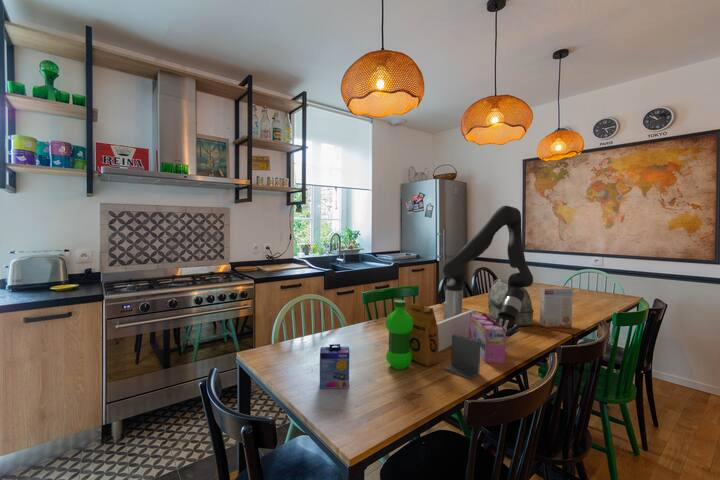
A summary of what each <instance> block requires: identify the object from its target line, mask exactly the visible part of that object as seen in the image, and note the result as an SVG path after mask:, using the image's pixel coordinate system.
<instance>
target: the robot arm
mask: <svg viewBox="0 0 720 480" xmlns="http://www.w3.org/2000/svg"><path fill="white" fill-rule="evenodd" d="M504 226H506V227H507V230H508V235H509V236H508V244H507V257H508V263H509V266H510V267H511V268H512V269H517V270H518V272H516V273H512V274H510V275H509V276H508V280H507V281H508V292H507V294H506V297H505V299H504V301H503V303H502V306H501V309H500V311H499V314H498V317H497V318H496V320H495V319H493V320H494V321H495V322H497V323H498V324H499V325H501V326H502V327H504V328H505V329H506V338H510V337H512V336H514V335H516V334H517V333H518V332H520V331H521V329H520V326H517V325H516V321H517V318H518V315H519V312H520V309H521V304H522V301H523V298H524V292H523V290H521V289H520V288H522V287H523V288H529V287H531V286H533V284H534V276H533V274H532V272H531V270H530V268H529V266H528V263H527V261H526V256H525V251H524V245H523V236H522V234H523V232H522V230H523V229H522V214H521V211H520V210H519V209H518V208H517V207H514V206H510V205H501V206H500V207H499V208H497V209H496V210H495V212H494V213H493V214H491V217H490V218H489V219H488V221H487V222H486V223H485V224H484V225H483V227H481V228H480V229H479V230H478V232H477V233H475V234H474V235H473V236H472V237H471V238H470V240H469V241H468V242H467V243H466V244H465V245H464V246H463V247H462V248H461V249H460V251H458V253H456V255H454V256H453V257H452V258H450V259H449V260H448V261H447V262H446V263H445V264H444V265H443V267H442V268H443V269H442V272H443V275H444V276H445V277H446V278H449V281H448V282H447V283H446V284H445V301H444V302H443V320H446V319H448V318H451V317H453V316H456V315H459V314H461V313H463V299H464V298H463V292H464V291H463V289H464V285H465V281H466V280H465V279H466V267H465V266H466V265H467V264H469V262H471V261H473V260H475V259H476V258H478V257H479V256H481V255H482V254H483V253H484V252H485V251H487V249H488V248H489V247H490V246H491V245H492V242H493V239H494V237H495V235H496V233H497V232H498V231H500V230H501V229H502V228H503V227H504Z"/></svg>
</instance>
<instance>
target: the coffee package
mask: <svg viewBox="0 0 720 480" xmlns="http://www.w3.org/2000/svg"><path fill="white" fill-rule="evenodd" d="M408 314H409V315H410V316H411V317H412V318H413V328H412V331H411V332H410V351H411V353H412V360H413V361H415V362H417V363H418V364H420V365H424V366H425V367H430V366H433V365H436V364H438V363H439V352H438V349H439V339H438V326H437V323H438V321H437V319H436V316H435V312H434V309H433V307H430V306H426V305H421V304H418V303H413V302H411V304H410V311H409V313H408Z"/></svg>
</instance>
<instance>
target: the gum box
mask: <svg viewBox="0 0 720 480" xmlns="http://www.w3.org/2000/svg"><path fill="white" fill-rule="evenodd" d="M469 314H470V316H469V337H468V338H470V339H474V340H478V341H480V359H481V360H482V361H483V362H484V363H485V364H505V363H506V341H507V340H506V339H507V337H506V329H505V328H504V327H502V326H501V325H499V324H498V323H497V322H495V321H494V320H495V319H494V318H492V317H491V316H489V314H486V313H482V314H481V315H480V314H476V315H472V314H471V313H469Z"/></svg>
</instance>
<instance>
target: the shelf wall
mask: <svg viewBox="0 0 720 480" xmlns="http://www.w3.org/2000/svg"><path fill="white" fill-rule="evenodd" d="M469 313H471V314H472V315H477V309H474V308H472V309H470V310H467V311H464V312H462V313H461V314H459V315H456V316H453V317H451V318H448V319H442V320H441V321H437V326H438V339H439V349H438V353H439V352H441V351H443V350H445V349H447V348H449V347H452V335H453V334H455V335H459V336H463V337H466V338H469V316H470V314H469Z"/></svg>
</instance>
